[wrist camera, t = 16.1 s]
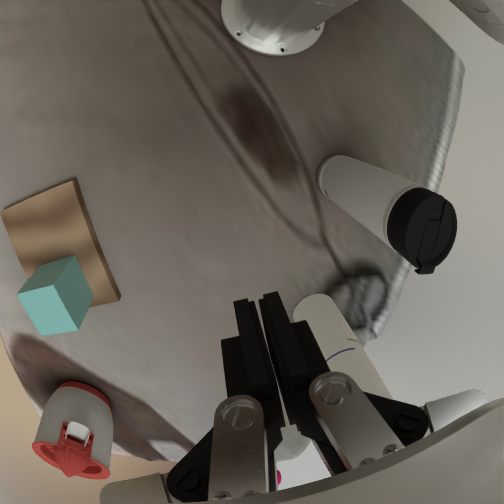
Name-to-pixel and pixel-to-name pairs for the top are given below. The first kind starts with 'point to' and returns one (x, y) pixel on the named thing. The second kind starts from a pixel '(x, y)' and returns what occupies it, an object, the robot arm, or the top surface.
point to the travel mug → (392, 209)
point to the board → (60, 237)
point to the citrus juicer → (76, 431)
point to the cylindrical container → (339, 343)
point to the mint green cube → (56, 296)
